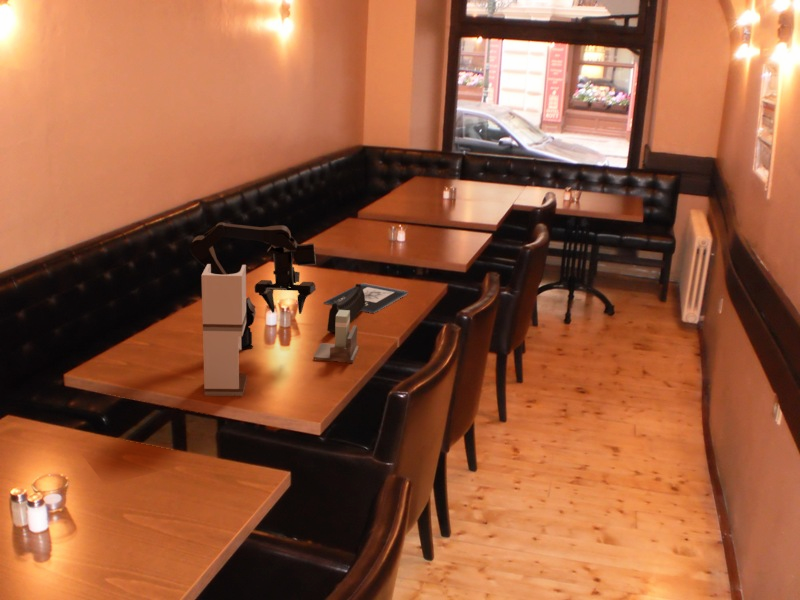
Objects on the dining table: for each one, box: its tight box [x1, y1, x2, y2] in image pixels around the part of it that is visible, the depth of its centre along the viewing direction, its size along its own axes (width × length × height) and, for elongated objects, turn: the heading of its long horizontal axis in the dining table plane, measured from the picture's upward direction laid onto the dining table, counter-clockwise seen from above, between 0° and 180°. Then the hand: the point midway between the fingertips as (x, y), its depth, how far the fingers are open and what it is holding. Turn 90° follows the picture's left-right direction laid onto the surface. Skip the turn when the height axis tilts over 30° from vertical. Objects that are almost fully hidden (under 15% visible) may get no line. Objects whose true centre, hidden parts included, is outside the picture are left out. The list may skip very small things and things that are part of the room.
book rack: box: [313, 324, 360, 364], centre depth 272 cm, size 12×13×8 cm
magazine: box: [327, 283, 365, 333], centre depth 302 cm, size 17×3×30 cm
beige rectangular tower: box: [201, 264, 248, 397], centre depth 239 cm, size 11×11×35 cm
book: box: [334, 310, 351, 348], centre depth 271 cm, size 4×6×13 cm, turn 174°
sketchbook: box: [323, 282, 409, 314], centre depth 332 cm, size 22×30×2 cm
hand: (286, 312), depth 274 cm, fingers open, 9 cm apart
